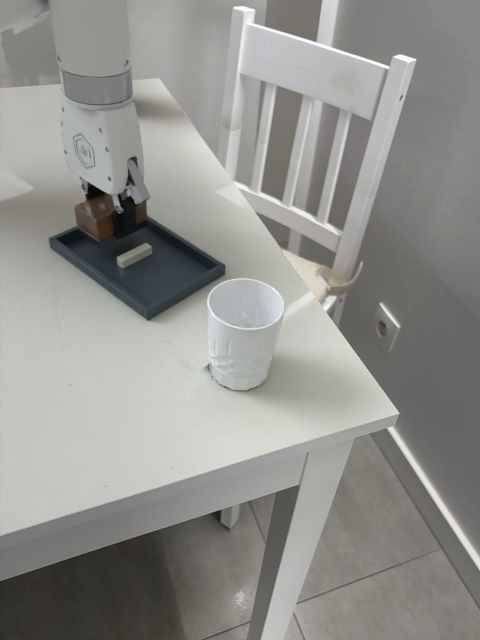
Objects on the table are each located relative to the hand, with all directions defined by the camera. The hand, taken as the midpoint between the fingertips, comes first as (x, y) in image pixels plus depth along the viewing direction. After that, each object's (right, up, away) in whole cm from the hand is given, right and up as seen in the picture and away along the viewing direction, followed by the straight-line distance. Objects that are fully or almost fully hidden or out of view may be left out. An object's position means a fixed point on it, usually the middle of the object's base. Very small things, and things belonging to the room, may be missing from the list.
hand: (112, 224), depth 73 cm
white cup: (+17, -19, -10) cm, 27 cm away
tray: (+3, -5, +1) cm, 6 cm away
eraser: (0, -1, +1) cm, 1 cm away
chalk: (+3, -4, +1) cm, 5 cm away
